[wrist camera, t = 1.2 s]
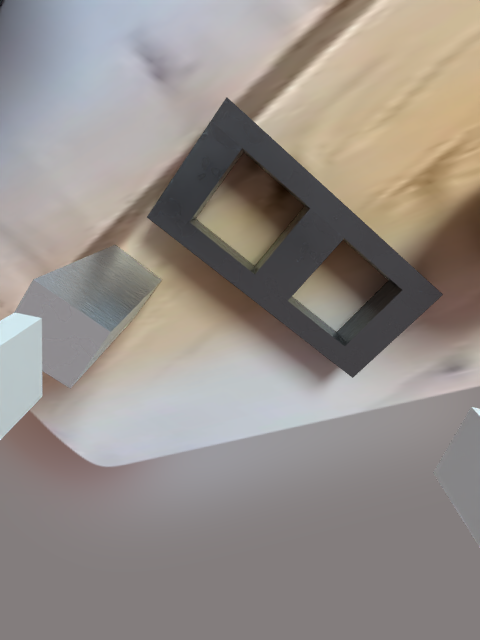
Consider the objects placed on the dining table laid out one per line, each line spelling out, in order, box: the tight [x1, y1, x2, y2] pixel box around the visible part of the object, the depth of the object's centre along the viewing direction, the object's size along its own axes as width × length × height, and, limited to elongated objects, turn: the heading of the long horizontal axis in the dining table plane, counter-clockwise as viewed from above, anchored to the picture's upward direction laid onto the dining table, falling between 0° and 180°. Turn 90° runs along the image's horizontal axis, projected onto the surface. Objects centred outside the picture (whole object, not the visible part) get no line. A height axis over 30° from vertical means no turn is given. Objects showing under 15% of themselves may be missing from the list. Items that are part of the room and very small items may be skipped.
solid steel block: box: [14, 245, 162, 388], centre depth 26 cm, size 5×5×12 cm
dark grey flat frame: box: [147, 98, 443, 378], centre depth 28 cm, size 22×10×3 cm, turn 51°
